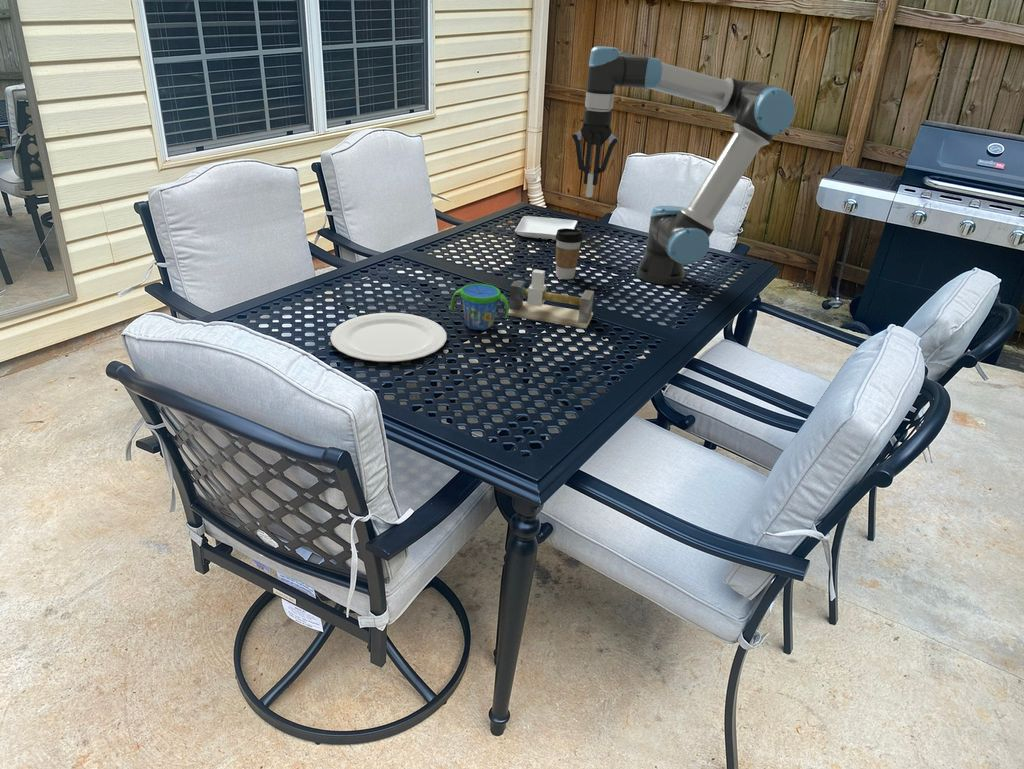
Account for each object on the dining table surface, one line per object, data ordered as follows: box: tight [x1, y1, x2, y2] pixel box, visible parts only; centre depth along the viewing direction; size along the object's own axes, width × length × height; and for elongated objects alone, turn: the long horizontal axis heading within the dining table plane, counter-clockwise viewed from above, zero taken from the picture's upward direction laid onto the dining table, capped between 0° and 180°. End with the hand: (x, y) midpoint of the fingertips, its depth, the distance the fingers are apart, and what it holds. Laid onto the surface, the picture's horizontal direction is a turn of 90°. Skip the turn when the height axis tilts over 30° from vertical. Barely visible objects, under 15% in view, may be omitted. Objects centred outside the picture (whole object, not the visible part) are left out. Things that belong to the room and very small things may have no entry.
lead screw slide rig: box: [507, 280, 595, 329], centre depth 207 cm, size 23×10×8 cm, turn 74°
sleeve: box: [526, 269, 548, 307], centre depth 206 cm, size 4×5×9 cm
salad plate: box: [514, 215, 578, 241], centre depth 277 cm, size 21×21×3 cm
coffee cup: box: [555, 228, 583, 280], centre depth 234 cm, size 8×8×15 cm
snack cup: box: [450, 283, 509, 331], centre depth 197 cm, size 16×10×10 cm
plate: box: [330, 312, 448, 363], centre depth 188 cm, size 29×29×2 cm
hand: (589, 196), depth 211 cm, fingers closed
